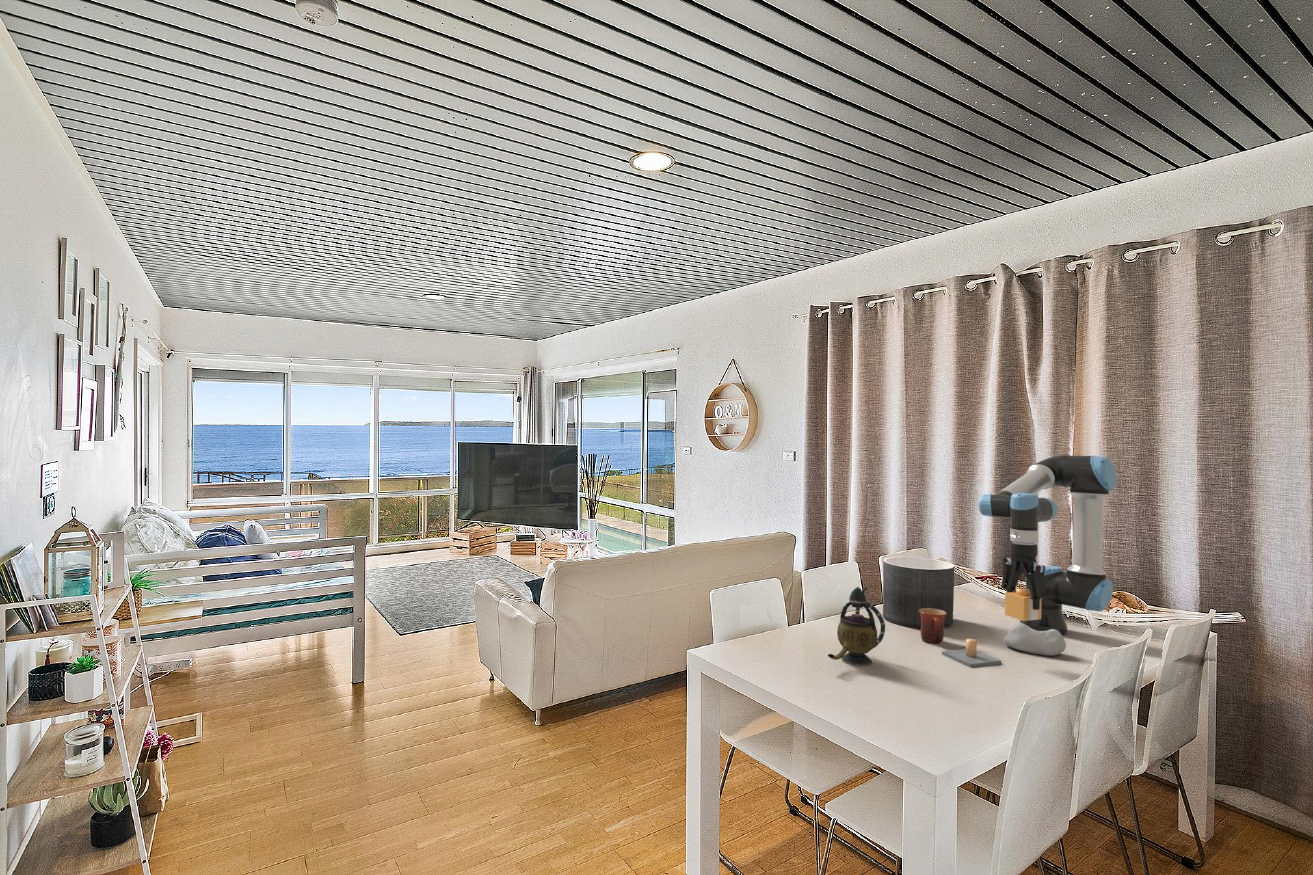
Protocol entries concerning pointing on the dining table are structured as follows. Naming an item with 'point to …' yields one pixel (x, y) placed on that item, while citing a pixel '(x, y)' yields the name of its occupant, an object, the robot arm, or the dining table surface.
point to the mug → (932, 625)
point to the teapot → (858, 631)
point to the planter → (916, 589)
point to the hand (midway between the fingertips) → (1022, 615)
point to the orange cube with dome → (1019, 604)
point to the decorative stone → (1035, 640)
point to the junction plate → (971, 661)
